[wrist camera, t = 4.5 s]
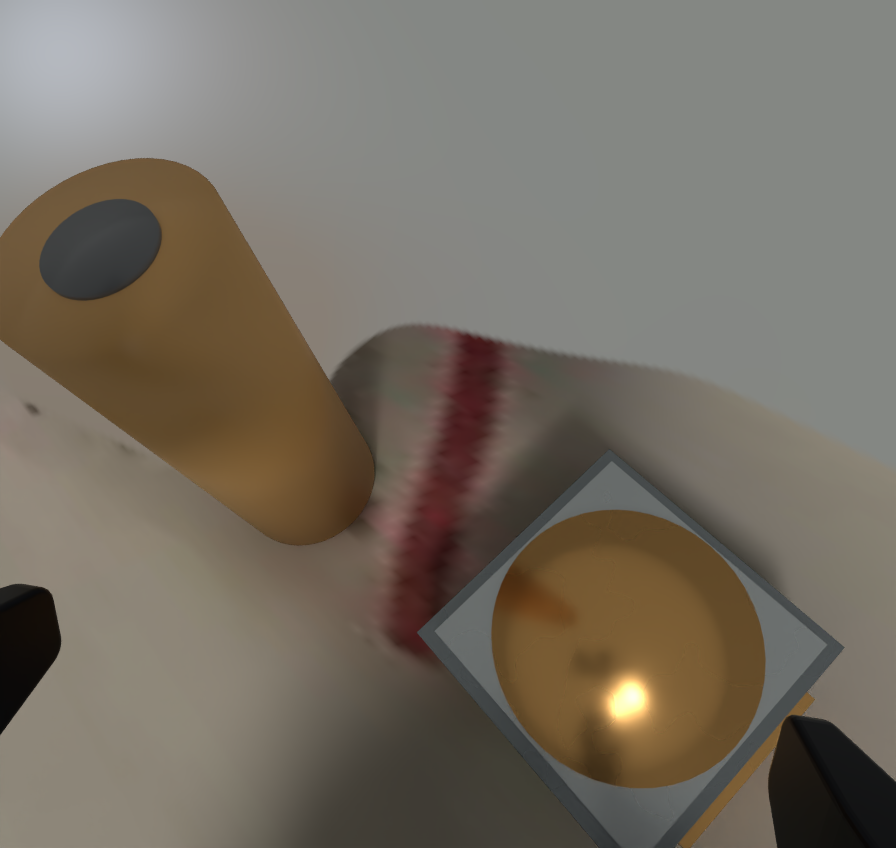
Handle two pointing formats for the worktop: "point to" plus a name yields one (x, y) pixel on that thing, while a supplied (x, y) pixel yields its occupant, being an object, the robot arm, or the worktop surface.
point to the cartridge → (182, 344)
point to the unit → (631, 659)
